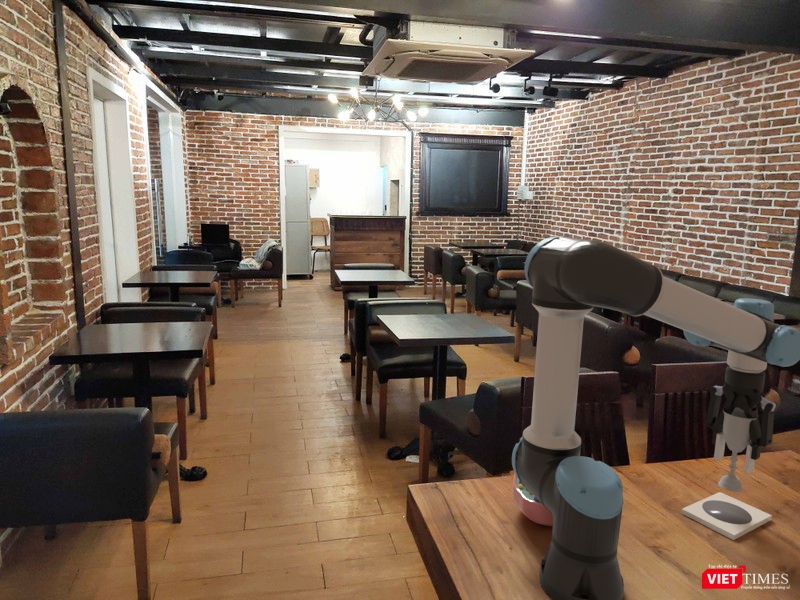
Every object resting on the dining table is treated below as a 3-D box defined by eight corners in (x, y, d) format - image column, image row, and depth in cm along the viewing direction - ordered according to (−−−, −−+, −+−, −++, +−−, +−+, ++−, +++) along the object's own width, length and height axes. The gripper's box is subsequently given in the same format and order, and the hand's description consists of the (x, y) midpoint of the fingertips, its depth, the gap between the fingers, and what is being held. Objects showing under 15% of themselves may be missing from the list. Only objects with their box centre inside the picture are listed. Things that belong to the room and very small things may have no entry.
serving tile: (733, 540, 120) (734, 534, 120) (681, 513, 130) (681, 508, 130) (771, 520, 128) (771, 514, 128) (719, 496, 138) (719, 491, 138)
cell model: (498, 528, 122) (501, 480, 120) (522, 488, 140) (525, 446, 138) (577, 551, 115) (581, 501, 113) (592, 506, 132) (596, 462, 130)
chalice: (754, 495, 124) (765, 419, 121) (724, 494, 124) (734, 418, 121) (736, 479, 131) (745, 407, 128) (707, 478, 131) (716, 406, 128)
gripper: (802, 377, 117) (787, 478, 121) (712, 355, 133) (702, 445, 137) (784, 382, 113) (769, 487, 117) (694, 359, 129) (684, 452, 133)
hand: (733, 464), depth 127 cm, fingers closed on chalice, 6 cm apart
